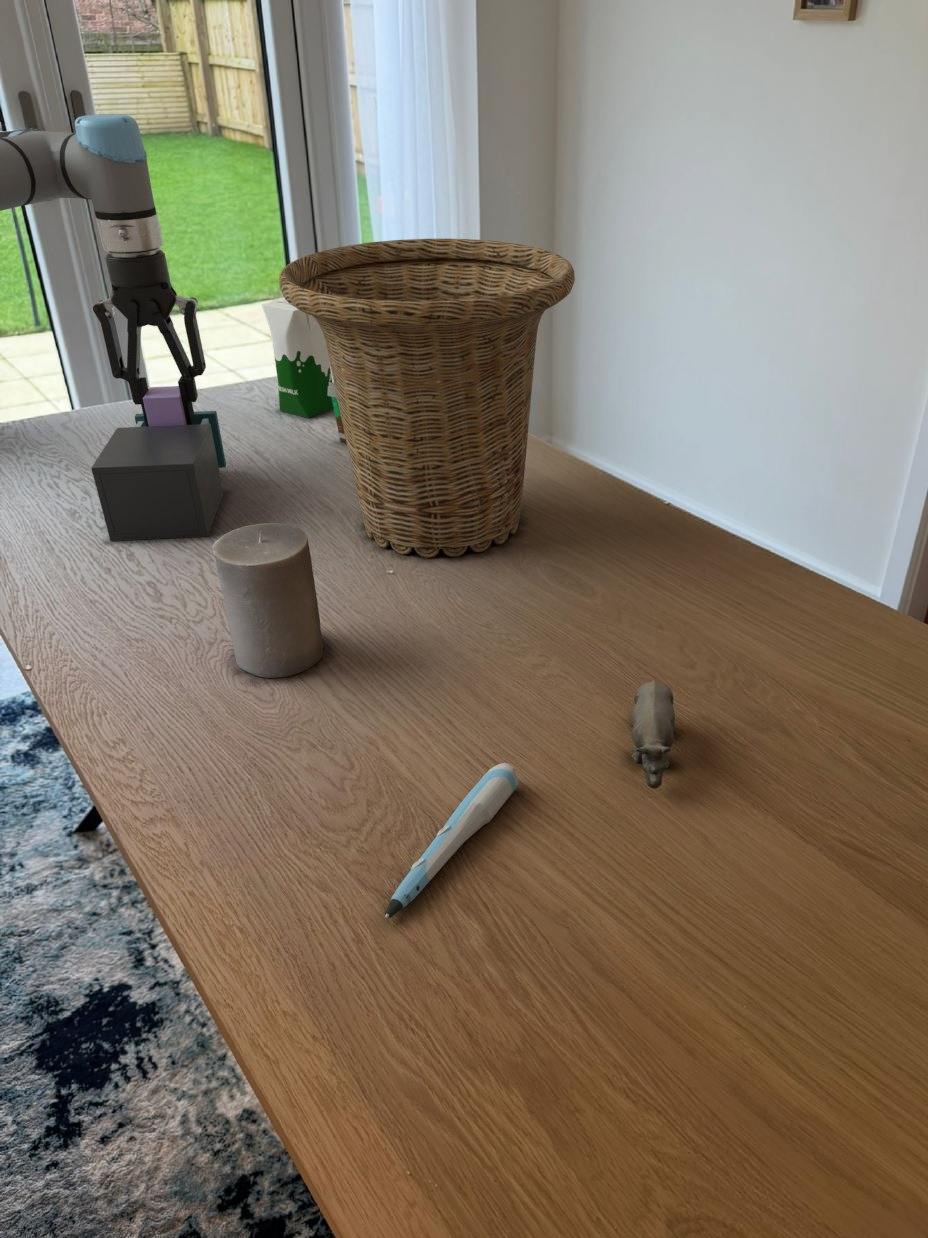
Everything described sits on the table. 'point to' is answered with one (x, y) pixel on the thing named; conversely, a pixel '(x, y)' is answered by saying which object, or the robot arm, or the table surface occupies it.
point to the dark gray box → (159, 482)
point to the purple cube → (164, 406)
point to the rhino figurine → (653, 729)
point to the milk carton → (299, 359)
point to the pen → (457, 831)
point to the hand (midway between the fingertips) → (171, 424)
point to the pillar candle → (270, 599)
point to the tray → (200, 418)
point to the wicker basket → (433, 378)
